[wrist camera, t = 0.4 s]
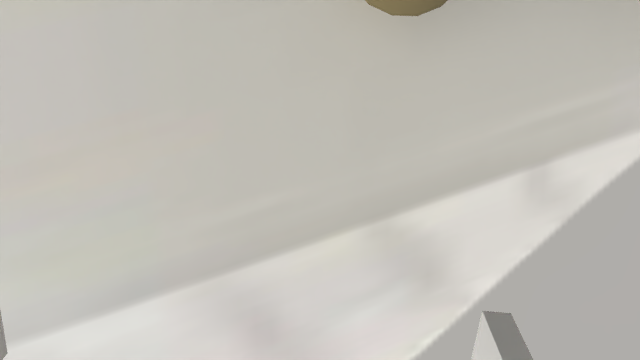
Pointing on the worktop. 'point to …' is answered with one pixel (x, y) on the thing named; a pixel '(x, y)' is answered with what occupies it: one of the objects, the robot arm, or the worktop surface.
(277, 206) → the worktop surface
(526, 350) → the robot arm
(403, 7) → the squeeze bottle
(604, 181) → the worktop surface
